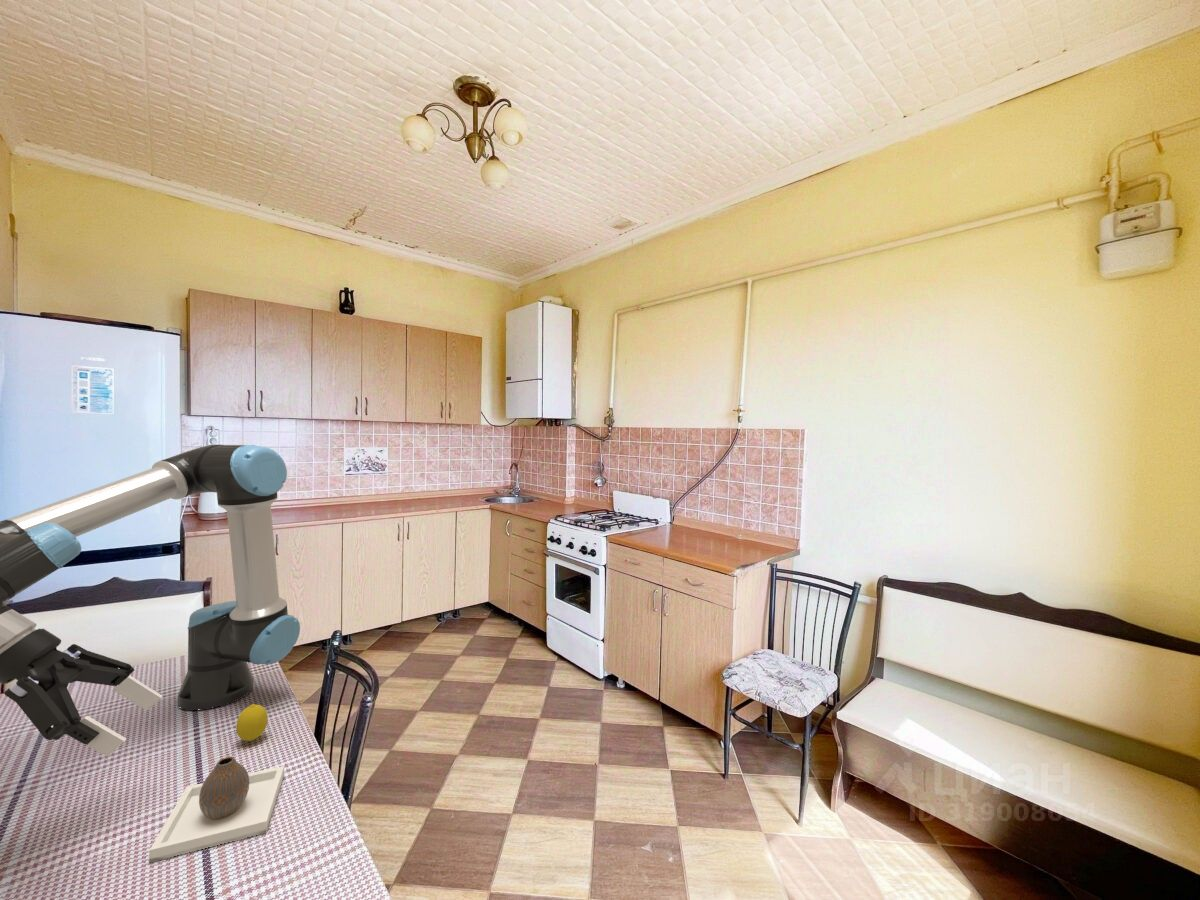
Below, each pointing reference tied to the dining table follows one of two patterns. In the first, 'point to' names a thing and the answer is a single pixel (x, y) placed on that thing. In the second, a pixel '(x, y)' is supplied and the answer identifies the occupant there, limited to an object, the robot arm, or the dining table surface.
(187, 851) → the holder tray
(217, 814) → the vase
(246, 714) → the lemon
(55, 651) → the robot arm
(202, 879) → the dining table surface
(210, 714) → the dining table surface
